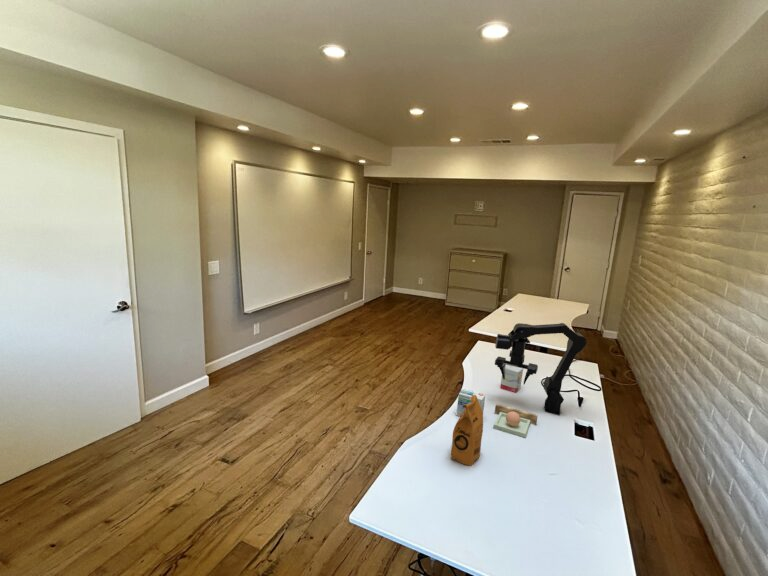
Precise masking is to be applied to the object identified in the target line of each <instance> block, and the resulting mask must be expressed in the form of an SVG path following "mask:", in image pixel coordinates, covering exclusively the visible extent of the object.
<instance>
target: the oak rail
mask: <svg viewBox="0 0 768 576" xmlns="http://www.w3.org/2000/svg"><path fill="white" fill-rule="evenodd" d="M511 411H513V412H516V413H518V414H519V416H520V417H521V418H524V419H528V420H530V425H534V426H537V423H538V416H539V415H538V414H536V413H531V412H528V411H524V410H520V409H517V408H513V407H509V406H507V405H504V404H503V405H502V404H498V403H495V406H494V414H495V415H499V413H500V412H503V413H506V414H507V413H509V412H511Z"/></svg>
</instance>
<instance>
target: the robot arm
mask: <svg viewBox="0 0 768 576" xmlns="http://www.w3.org/2000/svg"><path fill="white" fill-rule="evenodd" d="M552 334H554V335H555V334H563V335H564V336H565V337H566V338H567V339H568V340H567V342H566V349H565V351H564V354H562V357H561V359H560V360H559V362H558V365H556V369H555V371H554V372H553V373H552V375H551V376H550V377H549V376H546V377H545V380H544V381H543V382H542V384H543V385H542V386H543V390H544V392H545V394H546V396H547V397H546V398H545V401H544V407H543V408H544V412H546V413H549V414H554V415H558V416H560V414H561V410H562V409H561V408H562V407H561V406H562V404H563V402H564V400H565V398H564V397H563V395H562V394H561V390H562V383H563V380H564V378H565V376H566V374H567V373H568V371H569V369H570V366H571V365H572V363H573V361H574V360H575V358H576V356H577V355H578V354H579V353H581V352H582V351H583V350H584V349H585V347H586V346H587V342H588V341H587V339H586V338H585V336H583V335H582V334H581V333H580V332H575V331H574V330H572V329H571V328H570V327H569V326H568V324H566V323H564V322H559V323H551V324H529V323H522V322H521V323H520V322H519V323H516V324H514V326H513V329H512V330H511V331H510V332H508V333H507V335H506V334H499V333H497V336H496V339H495V345H494V346H495V349H498V350H506V351H507V350H510V349H511V350H510V351H509V355H508V357H510V359H509V360H507V358H506V357H503V356H497V357H496V358H495V360H494V365H495V366H496V367H497V368H499V370H500V372H501V377H502V376H503V380H505V366H506V365H511V366H515V367H519V368H523V370H526V372H525V376H524V379H523V385H525V384H526V383H527V380H528V379H529V377H530V376H533V375H534V374H535V375H536V374H537V372H538V368H539V366H538V364H535V363H532V362H531V363H528V364H525V350H526V349H525V348H526V344H530V343H531V341H530V339H529V338H530V337H533V336H536V335H538V336H540V335H552Z"/></svg>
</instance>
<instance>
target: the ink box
mask: <svg viewBox="0 0 768 576" xmlns="http://www.w3.org/2000/svg"><path fill="white" fill-rule="evenodd" d="M523 372H524V368H519V367H515V366H511V365H506V366H505V380H503V376H502V375H501V380H500V385H499V386H500V387H499V389H501V390H504V391H507V392H511V393H514V394H516V393H517V392H518V391H519V390H520V389H521V387H522V381H523Z"/></svg>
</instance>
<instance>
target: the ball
mask: <svg viewBox="0 0 768 576" xmlns="http://www.w3.org/2000/svg"><path fill="white" fill-rule="evenodd" d="M506 421H507V423H508V424H509V425H511V426H517V425H518V424H519V423H520V416H519V414H518V413H516V412H513V411H511V412H509V413H507V415H506Z"/></svg>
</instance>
